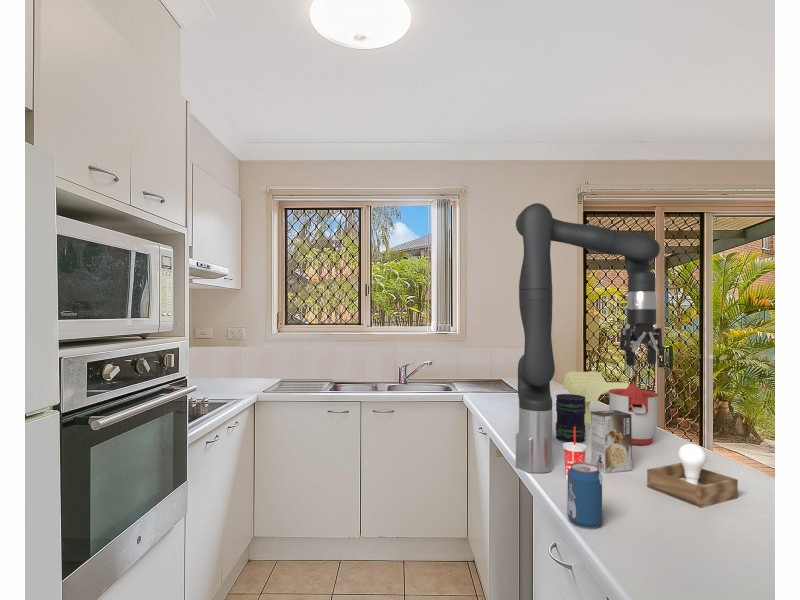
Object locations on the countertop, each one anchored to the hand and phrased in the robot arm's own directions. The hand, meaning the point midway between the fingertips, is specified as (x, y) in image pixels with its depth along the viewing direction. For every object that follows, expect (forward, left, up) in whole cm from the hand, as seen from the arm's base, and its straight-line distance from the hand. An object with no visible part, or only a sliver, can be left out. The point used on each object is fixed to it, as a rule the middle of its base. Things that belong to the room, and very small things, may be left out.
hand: (641, 364), depth 136 cm
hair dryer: (+37, +51, -30) cm, 70 cm away
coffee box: (-6, +5, -30) cm, 31 cm away
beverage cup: (-22, +3, -30) cm, 38 cm away
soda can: (-40, -18, -30) cm, 53 cm away
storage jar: (+6, +33, -30) cm, 45 cm away
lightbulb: (-1, -16, -29) cm, 33 cm away
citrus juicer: (+24, +22, -30) cm, 44 cm away
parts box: (-2, -16, -30) cm, 34 cm away
